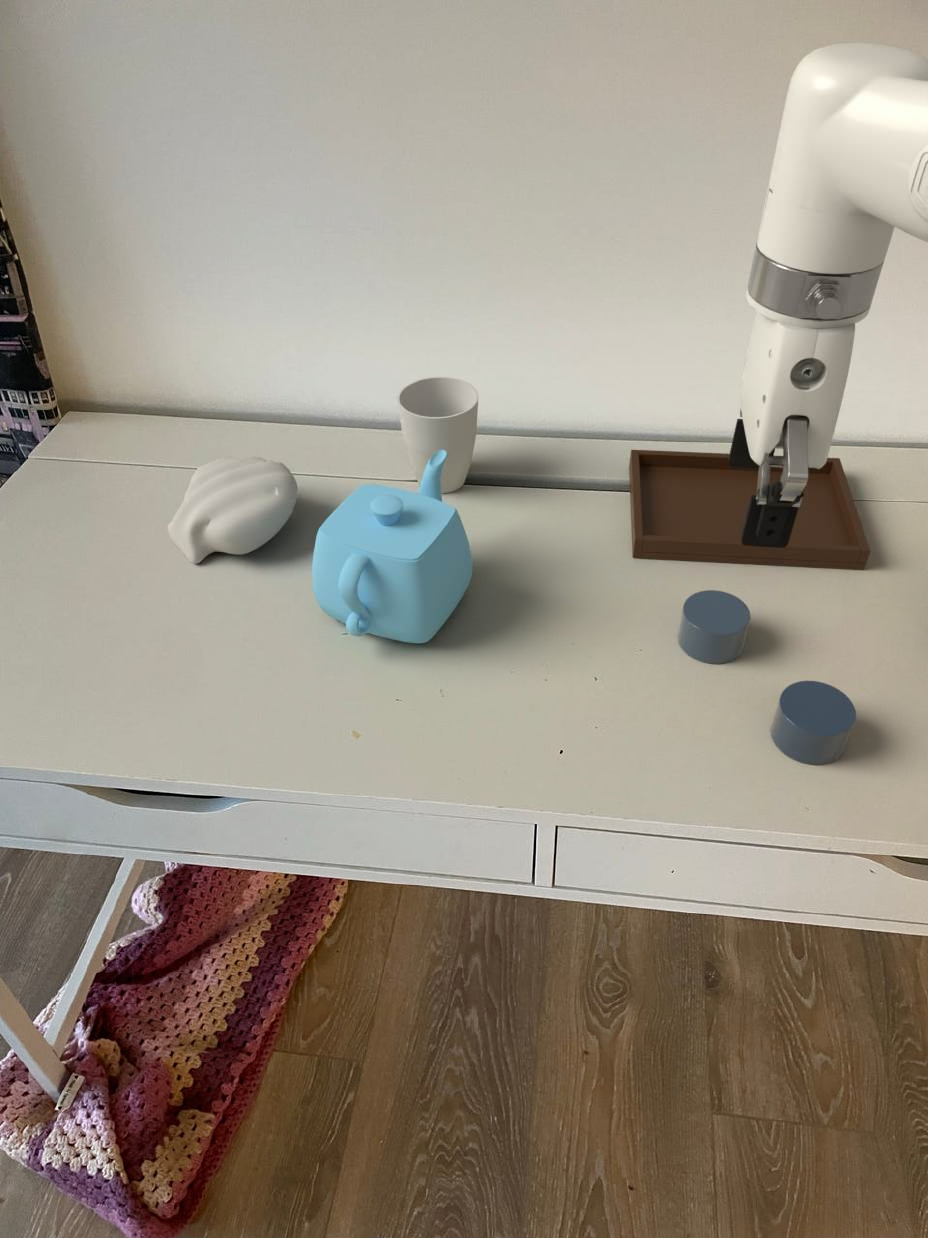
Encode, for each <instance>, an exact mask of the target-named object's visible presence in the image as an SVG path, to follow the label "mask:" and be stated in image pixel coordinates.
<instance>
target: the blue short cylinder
mask: <svg viewBox="0 0 928 1238" xmlns="http://www.w3.org/2000/svg"><path fill="white" fill-rule="evenodd" d="M751 618H752V617H751V612H750V609H749V607H748V605H747V604H746V603H745V602H744V601H743V600H742V599H740V598H739V597H738V596H736V595H734V594H732V593H729V592H726V591H722V590H715V589H713V590H712V589H711V590H707V589H706V590H700V591H698V592H695V593H693V594H691V595H690V596H689V597H688V598H686V599H685V601H684V603H683V606H682V611H681V616H680V623H679V628H678V632H677V642H678V645H679V647H680V648H681V649H682V651H683V652H684V653H685V654H686V655H687V656H689V657H691V659H694V660H696V661H698V662H701V663H706V664H710V665H711V664H712V665H719V664H725V663H730V662H733V661H734V660H736V659H737V658H738V657H739V656H740V655H741V654H742V652H743V650H744V645H745V641H746V638H747V634H748V631H749V627H750V622H751Z"/></svg>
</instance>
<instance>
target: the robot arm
mask: <svg viewBox="0 0 928 1238" xmlns="http://www.w3.org/2000/svg"><path fill="white" fill-rule="evenodd" d="M895 228H897V229H898V230H900V231H902V232H904V233H906V234H908V235H909V236H911V237H914V238H915V239H919V240H920V241H924V242H926V243H928V59H927V58H926V57H925V56H924V55H921V54H919V53H917V52H915V51H912V50H910V49H907V48H903V47H900V46H895V45H889V44H883V43H882V44H881V43H868V42H845V43H835V44H830V45H826V46H822V47H818V48H816V49H814V50H812V51H811V52H809V53H808V54H806V55H805V56H804V57H803V58H802V59H801V60H800V61H799V63H798V64H797V66H796V67H795V69H794V71H793V73H792V75H791V78H790V81H789V86H788V89H787V94H786V98H785V103H784V108H783V112H782V118H781V122H780V127H779V132H778V136H777V142H776V147H775V151H774V156H773V161H772V166H771V170H770V176H769V181H768V185H767V190H766V195H765V200H764V204H763V209H762V214H761V219H760V225H759V229H758V236H757V239H756V245H755V249H754V254H753V259H752V263H751V269H750V273H749V278H748V282H747V288H746V292H745V299H746V302H747V304H748V305H749V306H750V308H752V309H753V310H754V311H755V312H756V314H755V317H754V321H753V325H752V331H751V333H750V338H749V342H748V346H747V351H746V356H745V359H744V364H743V370H742V375H741V382H740V389H739V390H740V391H739V403H740V408H739V416H740V418H736V422H735V427H734V432H733V436H732V440H731V445H730V450H729V453H728V454H729V465H730V466H731V467H740V468H757V469H759V470H758V482H757V494H756V495H751V498H750V502H749V506H748V510H747V514H746V518H745V522H744V526H743V530H742V534H741V542H742V544H743V545H745V546H758V547H774V548H784V547H786V546H787V545H788V543H789V539H790V536H791V532H792V529H793V526H794V522H795V519H796V515H797V512H798V509H799V507H800V504H801V501H802V497H803V496H804V493H803V491H804V488H805V486H806V484H807V481H808V466H809V468H815V469H820V468H821V467H823V466H824V464H825V463H826V461H827V458H829V457H828V456H829V455H830V449H831V447H832V442H833V438H834V435H835V430H836V426H837V423H838V418H839V414H840V411H841V406H842V402H843V399H844V395H845V390H846V385H847V381H848V376H849V370H850V366H851V361H852V355H853V349H854V341H855V333H856V324H857V323H860V322H861V321H862V320H864V319H865V318H866V317H867V316H868V315H869V312H870V310H871V306H872V302H873V299H874V296H875V292H876V289H877V285H878V282H879V280H880V276H881V274H882V270H883V266H884V264H885V260H886V257H887V253H888V250H889V247H890V244H891V241H892V237H893V234H894V230H895ZM777 449H780V450H782V456H783V457H775V456H776V455H775V451H776V450H777ZM770 467H776V468H783V473H782V476H781V477H780V478H781V482H774V483H773V484H771V485H770V486H769V477H770Z"/></svg>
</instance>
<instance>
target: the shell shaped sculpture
mask: <svg viewBox="0 0 928 1238" xmlns="http://www.w3.org/2000/svg"><path fill="white" fill-rule="evenodd" d="M297 500H298V483H297V481H296V478H295V477H294V474H293V473H292V472H291V470H290V469H289V468H288V467H287V466H286V465H285V464H284V463H282V462H280V461H279V462H278V461H275V460H273V459H271V460H267V459H265V458H262V457H257V456H245V457H235V456H234V457H233V456H227V457H220V458H216V459H214V460H212V461H210V462H207V463H206V464H203V465H201V466H199V467H197V468H196V470H195V472H194V473H193V475H192V477H191V478H190V483H189V486H188V487H187V489H186V490H185V494H184V497H183V500H182V503H181V505H180V506H179V507H178V509H177V511H176V512H175V514H174V516H173V518H172V520H171V521H170V522H169V523H168V525H167V532H168V536H169V537H170V539H171V540H172V542H173V543H174V544H175V546H176V547H177V548H178V549H179V550H180V551H181V552H182V553H183V554H184V556H185V557H186V558H187V559H188V560H189V562H190V563H191V564H194V565H195V564H196V565H197V564H200V563H201V562H202V561H203V560H205V558H207V556H208V555H211V554H212V553H214V552H219V553H226V554H230V555H245V554H249V553H252V552H253V551H255V550H257V549H258V548H260V547H262V546H263V545H264V544H266V543H267V542H268V541H270V540H271V539H272V538H274V537H275V536H276V535H277V534H278V533H279V532H280V531H281V529H282V528H283V527H284V526H285V525H286V523H287V521H288V520H289V518H290V517H291V515H292V514H293V511H294V509H295V506H296V503H297Z"/></svg>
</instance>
